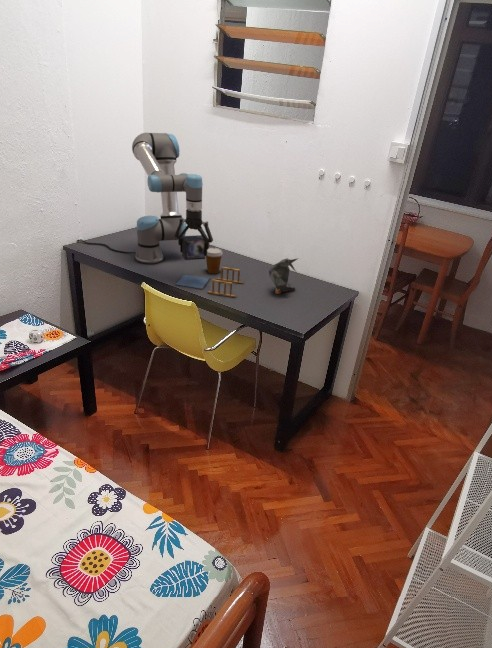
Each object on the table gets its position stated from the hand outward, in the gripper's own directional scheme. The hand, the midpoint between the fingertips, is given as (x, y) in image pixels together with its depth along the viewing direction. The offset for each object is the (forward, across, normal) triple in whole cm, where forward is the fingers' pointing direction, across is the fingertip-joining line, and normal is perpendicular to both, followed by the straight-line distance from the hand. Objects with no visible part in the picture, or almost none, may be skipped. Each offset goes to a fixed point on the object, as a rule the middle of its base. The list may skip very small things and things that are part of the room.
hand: (193, 253), depth 229 cm
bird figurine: (+16, +46, +6) cm, 49 cm away
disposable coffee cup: (+16, +6, +18) cm, 25 cm away
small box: (+3, 0, 0) cm, 3 cm away
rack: (+16, +18, -1) cm, 24 cm away
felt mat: (+16, 0, 0) cm, 16 cm away
